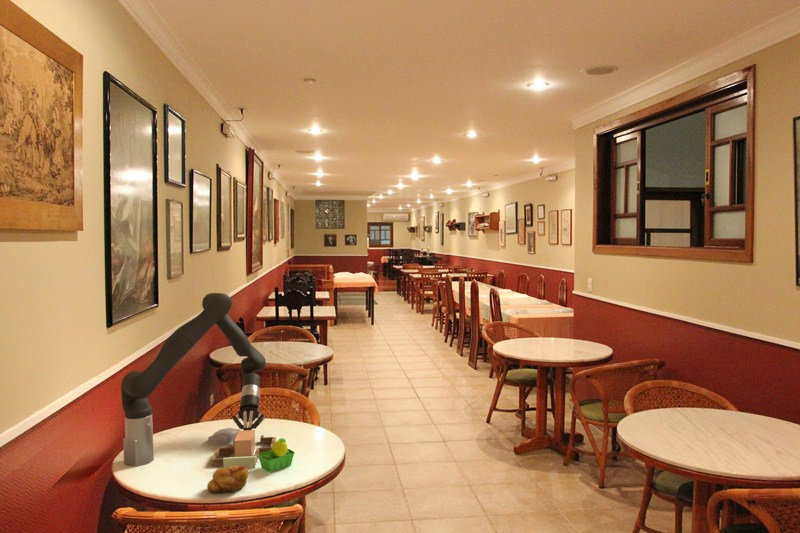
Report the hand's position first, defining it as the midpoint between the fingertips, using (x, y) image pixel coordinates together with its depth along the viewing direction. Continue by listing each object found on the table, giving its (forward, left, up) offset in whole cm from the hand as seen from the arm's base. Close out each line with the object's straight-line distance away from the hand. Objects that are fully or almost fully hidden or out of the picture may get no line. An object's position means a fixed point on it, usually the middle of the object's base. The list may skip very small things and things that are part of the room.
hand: (246, 438), depth 222 cm
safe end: (-17, -10, -4) cm, 20 cm away
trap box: (-5, -3, -4) cm, 7 cm away
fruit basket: (-11, -22, -4) cm, 25 cm away
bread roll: (-31, -16, -5) cm, 35 cm away
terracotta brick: (-5, -3, -4) cm, 7 cm away
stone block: (+5, +15, -5) cm, 17 cm away
